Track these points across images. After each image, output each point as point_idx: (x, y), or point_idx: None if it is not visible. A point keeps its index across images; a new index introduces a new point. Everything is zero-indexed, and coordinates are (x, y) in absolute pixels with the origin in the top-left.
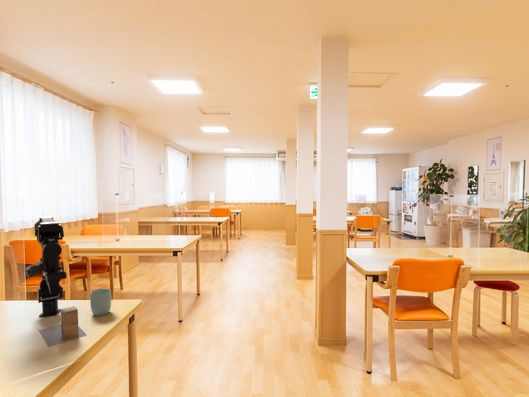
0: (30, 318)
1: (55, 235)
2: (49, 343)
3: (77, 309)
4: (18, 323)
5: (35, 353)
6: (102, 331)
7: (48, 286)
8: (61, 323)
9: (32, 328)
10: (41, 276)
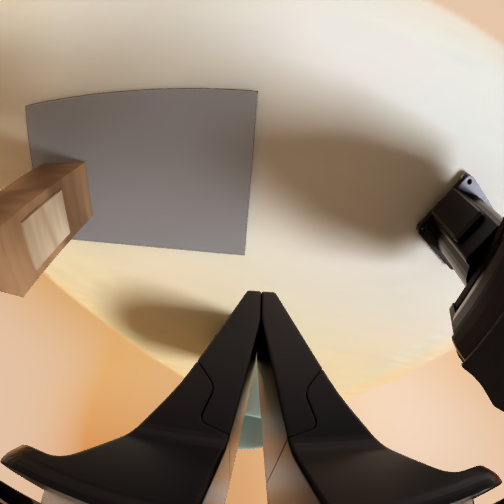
0: (483, 141)
1: None
2: (48, 110)
3: None
4: (469, 78)
5: (17, 62)
6: (67, 281)
7: (284, 362)
8: (38, 188)
9: (337, 84)
10: (476, 495)
